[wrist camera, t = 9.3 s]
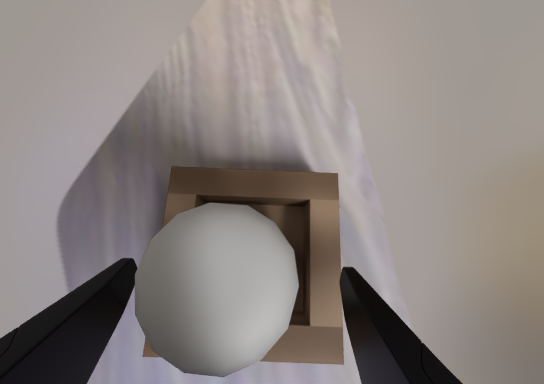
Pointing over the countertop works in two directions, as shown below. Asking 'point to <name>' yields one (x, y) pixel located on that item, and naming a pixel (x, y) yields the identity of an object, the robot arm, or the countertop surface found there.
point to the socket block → (301, 236)
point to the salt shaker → (216, 289)
